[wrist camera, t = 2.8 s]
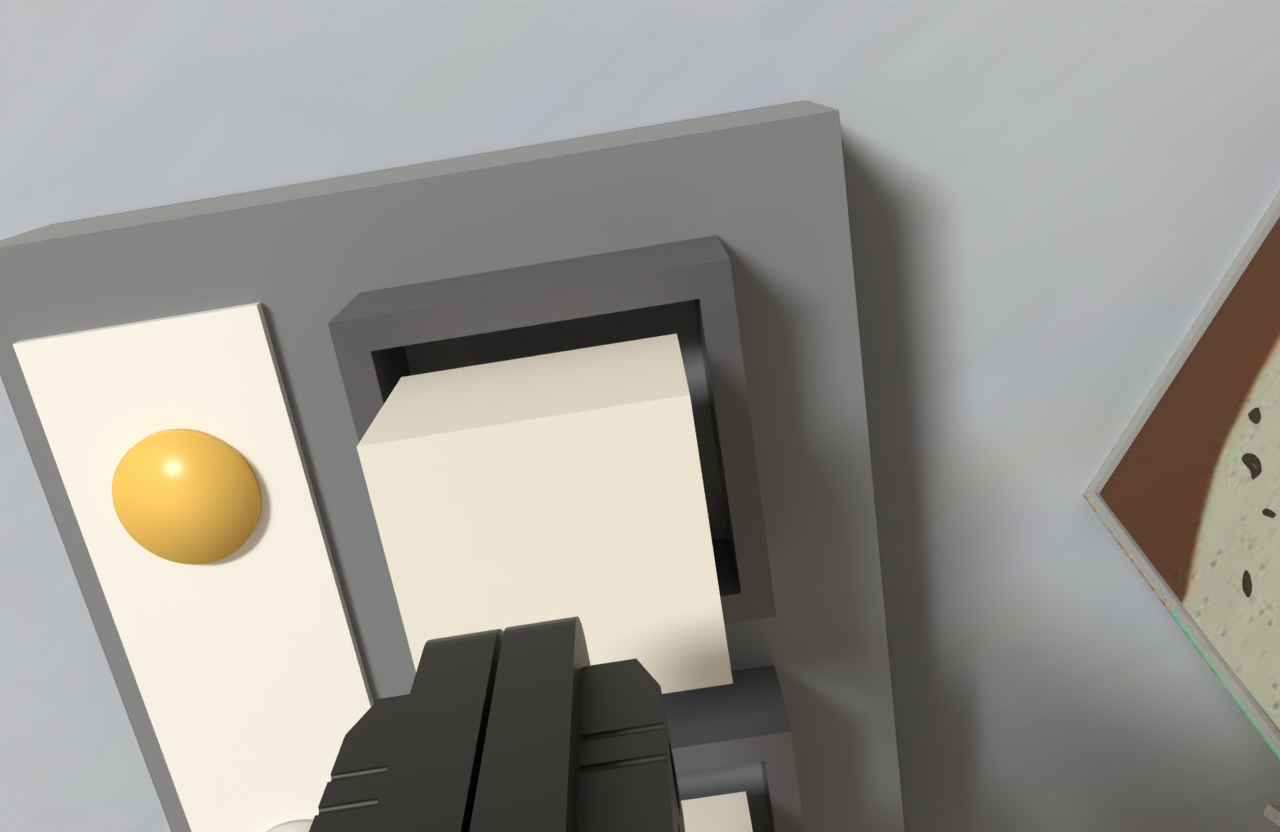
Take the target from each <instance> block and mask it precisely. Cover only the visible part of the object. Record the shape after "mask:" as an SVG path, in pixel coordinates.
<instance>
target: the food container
mask: <svg viewBox="0 0 1280 832" xmlns="http://www.w3.org/2000/svg"><path fill="white" fill-rule="evenodd" d="M1083 496H1084V497H1085V498H1086V500H1087V501H1088V503H1089V504H1090V505H1091V507H1092V508H1093V509H1094V511H1095V512H1096V513H1097V515H1098V516H1099V517H1100V519H1101V520H1102V522H1103V523H1104V524H1105V526H1106V527H1107V528H1108V530H1109V531H1110V532H1111V534H1112V535H1113V536H1114V538H1115V539H1116V541H1117V542H1118V543H1119V545H1120V546H1121V547H1122V549H1123V550H1124V551H1125V553H1126V554H1127V555H1128V557H1129V558H1130V559H1131V561H1132V562H1133V564H1134V565H1135V566H1136V568H1137V569H1138V570H1139V572H1140V573H1141V574H1142V576H1143V577H1144V578H1145V580H1146V581H1147V583H1148V584H1149V585H1150V587H1151V588H1152V589H1153V591H1154V592H1155V593H1156V595H1157V596H1158V597H1159V599H1160V600H1161V602H1162V603H1163V604H1164V606H1165V607H1166V608H1167V610H1168V611H1169V612H1170V614H1171V615H1172V616H1173V618H1174V619H1175V621H1176V622H1177V623H1178V625H1179V626H1180V627H1181V629H1182V630H1183V631H1184V633H1185V634H1186V635H1187V637H1188V638H1189V640H1190V641H1191V642H1192V644H1193V645H1194V646H1195V648H1196V649H1197V650H1198V652H1199V653H1200V654H1201V656H1202V657H1203V659H1204V660H1205V661H1206V663H1207V664H1208V665H1209V667H1210V668H1211V669H1212V671H1213V672H1214V673H1215V675H1216V676H1217V678H1218V679H1219V680H1220V682H1221V683H1222V684H1223V686H1224V687H1225V688H1226V690H1227V691H1228V692H1229V694H1230V695H1231V696H1232V698H1233V699H1234V701H1235V702H1236V703H1237V705H1238V706H1239V707H1240V709H1241V710H1242V711H1243V713H1244V714H1245V715H1246V717H1247V718H1248V720H1249V721H1250V722H1251V724H1252V725H1253V726H1254V728H1255V729H1256V730H1257V732H1258V733H1259V734H1260V736H1261V737H1262V739H1263V740H1264V741H1265V743H1266V744H1267V745H1268V747H1269V748H1270V749H1271V751H1272V752H1273V753H1274V755H1275V756H1276V758H1277V759H1278V760H1279V762H1280V192H1279V193H1278V195H1277V196H1276V198H1275V199H1274V201H1273V202H1272V204H1271V205H1270V207H1269V209H1268V210H1267V212H1266V213H1265V215H1264V216H1263V218H1262V219H1261V221H1260V222H1259V224H1258V226H1257V227H1256V229H1255V230H1254V232H1253V233H1252V235H1251V236H1250V238H1249V239H1248V241H1247V243H1246V244H1245V246H1244V247H1243V249H1242V250H1241V252H1240V253H1239V255H1238V256H1237V258H1236V260H1235V261H1234V263H1233V264H1232V266H1231V267H1230V269H1229V270H1228V272H1227V273H1226V275H1225V277H1224V278H1223V280H1222V281H1221V283H1220V284H1219V286H1218V287H1217V289H1216V290H1215V292H1214V294H1213V295H1212V297H1211V298H1210V300H1209V301H1208V303H1207V304H1206V306H1205V307H1204V309H1203V311H1202V312H1201V314H1200V315H1199V317H1198V318H1197V320H1196V321H1195V323H1194V324H1193V326H1192V328H1191V329H1190V331H1189V332H1188V334H1187V335H1186V337H1185V338H1184V340H1183V341H1182V343H1181V345H1180V346H1179V348H1178V349H1177V351H1176V352H1175V354H1174V355H1173V357H1172V358H1171V360H1170V362H1169V363H1168V365H1167V366H1166V368H1165V369H1164V371H1163V372H1162V374H1161V376H1160V377H1159V379H1158V380H1157V382H1156V383H1155V385H1154V386H1153V388H1152V389H1151V391H1150V393H1149V394H1148V396H1147V397H1146V399H1145V400H1144V402H1143V403H1142V405H1141V406H1140V408H1139V410H1138V411H1137V413H1136V414H1135V416H1134V417H1133V419H1132V420H1131V422H1130V423H1129V425H1128V427H1127V428H1126V430H1125V431H1124V433H1123V434H1122V436H1121V437H1120V439H1119V440H1118V442H1117V444H1116V445H1115V447H1114V448H1113V450H1112V451H1111V453H1110V454H1109V456H1108V457H1107V459H1106V461H1105V462H1104V464H1103V465H1102V467H1101V468H1100V470H1099V471H1098V473H1097V474H1096V476H1095V478H1094V479H1093V481H1092V482H1091V484H1090V485H1089V487H1088V488H1087V490H1086V491H1085V493H1084V495H1083ZM1263 815H1264V816H1265V817H1267V818H1268V819H1269V820H1270V821H1272V822H1273V823H1274V824H1276V825H1277V826H1278V827H1280V808H1279V807H1276V806H1273V805H1270V804H1267V807H1266V809H1265V811H1264V813H1263Z"/></svg>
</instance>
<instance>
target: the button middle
mask: <svg viewBox="0 0 1280 832" xmlns="http://www.w3.org/2000/svg"><path fill="white" fill-rule="evenodd" d="M681 804H682V810H683V816H684V826H685V832H753V830H752V824H751V818H750V813H749V807H748V801H747V796H746V791H745V792H738V793H731V794H724V795H717V796H710V797H703V798H696V799H689V800H683V801H681Z"/></svg>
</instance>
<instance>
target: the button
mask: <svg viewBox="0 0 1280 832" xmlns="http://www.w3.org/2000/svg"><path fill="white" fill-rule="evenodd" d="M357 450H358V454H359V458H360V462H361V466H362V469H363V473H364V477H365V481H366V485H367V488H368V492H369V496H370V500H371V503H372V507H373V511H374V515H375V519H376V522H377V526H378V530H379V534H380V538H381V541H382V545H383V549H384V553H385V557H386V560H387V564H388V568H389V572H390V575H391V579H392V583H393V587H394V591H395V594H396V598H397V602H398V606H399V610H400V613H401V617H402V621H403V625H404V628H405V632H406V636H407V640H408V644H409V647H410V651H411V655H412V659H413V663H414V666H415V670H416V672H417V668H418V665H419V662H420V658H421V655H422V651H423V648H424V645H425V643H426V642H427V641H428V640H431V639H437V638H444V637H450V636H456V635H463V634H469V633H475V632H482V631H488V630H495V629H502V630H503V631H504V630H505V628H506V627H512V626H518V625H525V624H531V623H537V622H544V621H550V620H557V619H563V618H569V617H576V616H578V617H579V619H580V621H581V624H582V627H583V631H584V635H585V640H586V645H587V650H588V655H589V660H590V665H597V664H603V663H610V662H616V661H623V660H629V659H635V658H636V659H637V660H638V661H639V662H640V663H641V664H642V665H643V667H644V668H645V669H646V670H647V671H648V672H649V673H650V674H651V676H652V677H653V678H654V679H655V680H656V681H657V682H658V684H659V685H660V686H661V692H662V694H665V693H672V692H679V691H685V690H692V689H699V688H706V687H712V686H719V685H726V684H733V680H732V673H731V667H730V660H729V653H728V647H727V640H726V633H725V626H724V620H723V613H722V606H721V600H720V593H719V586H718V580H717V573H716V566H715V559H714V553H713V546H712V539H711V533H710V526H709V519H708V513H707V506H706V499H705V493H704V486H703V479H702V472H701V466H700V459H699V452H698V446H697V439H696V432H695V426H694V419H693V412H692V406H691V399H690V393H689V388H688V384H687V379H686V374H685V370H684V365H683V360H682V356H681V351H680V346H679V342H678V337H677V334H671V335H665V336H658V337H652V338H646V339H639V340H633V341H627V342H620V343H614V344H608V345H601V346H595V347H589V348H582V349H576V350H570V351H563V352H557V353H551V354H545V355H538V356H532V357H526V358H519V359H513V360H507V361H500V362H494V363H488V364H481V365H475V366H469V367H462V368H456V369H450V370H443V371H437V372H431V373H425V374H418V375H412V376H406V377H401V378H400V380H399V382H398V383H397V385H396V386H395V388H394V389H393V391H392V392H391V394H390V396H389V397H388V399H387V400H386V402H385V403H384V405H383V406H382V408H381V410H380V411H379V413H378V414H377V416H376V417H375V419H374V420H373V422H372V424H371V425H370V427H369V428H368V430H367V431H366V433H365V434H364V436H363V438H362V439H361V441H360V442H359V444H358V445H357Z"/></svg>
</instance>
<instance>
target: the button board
mask: <svg viewBox="0 0 1280 832" xmlns="http://www.w3.org/2000/svg"><path fill="white" fill-rule="evenodd" d="M671 334H677V337H678V342H679V346H680V351H681V356H682V360H683V365H684V370H685V374H686V379H687V384H688V388H689V393H690V399H691V406H692V412H693V419H694V426H695V432H696V439H697V446H698V452H699V459H700V466H701V472H702V479H703V486H704V493H705V499H706V506H707V513H708V519H709V526H710V533H711V539H712V546H713V553H714V559H715V566H716V573H717V580H718V586H719V593H720V600H721V606H722V613H723V620H724V626H725V633H726V640H727V647H728V653H729V660H730V667H731V673H732V680H733V684H726V685H719V686H712V687H706V688H699V689H692V690H685V691H679V692H672V693H665V694H662V697H663V703H664V708H665V714H666V720H667V725H668V731H669V737H670V742H671V748H672V753H673V759H674V765H675V770H676V776H677V782H678V787H679V793H680V798H681V801H683V800H689V799H696V798H703V797H710V796H717V795H724V794H731V793H738V792H745V791H746V796H747V801H748V807H749V813H750V818H751V824H752V830H753V832H905V828H904V817H903V806H902V795H901V784H900V773H899V762H898V751H897V740H896V730H895V719H894V708H893V697H892V686H891V675H890V664H889V653H888V642H887V631H886V620H885V609H884V598H883V588H882V577H881V566H880V555H879V544H878V533H877V522H876V511H875V500H874V489H873V478H872V467H871V456H870V446H869V435H868V424H867V413H866V402H865V391H864V380H863V369H862V358H861V347H860V336H859V325H858V314H857V304H856V293H855V282H854V271H853V260H852V249H851V238H850V227H849V216H848V205H847V194H846V183H845V172H844V162H843V151H842V140H841V129H840V118H839V110H837V109H833V108H830V107H826V106H823V105H820V104H816V103H813V102H809V101H806V100H805V101H799V102H793V103H787V104H781V105H775V106H769V107H763V108H757V109H751V110H745V111H739V112H732V113H726V114H720V115H714V116H708V117H702V118H696V119H690V120H684V121H678V122H672V123H666V124H659V125H653V126H647V127H641V128H635V129H629V130H623V131H617V132H611V133H605V134H599V135H593V136H587V137H580V138H574V139H568V140H562V141H556V142H550V143H544V144H538V145H532V146H526V147H520V148H514V149H508V150H501V151H495V152H489V153H483V154H477V155H471V156H465V157H459V158H453V159H447V160H441V161H435V162H428V163H422V164H416V165H410V166H404V167H398V168H392V169H386V170H380V171H374V172H368V173H362V174H356V175H349V176H343V177H337V178H331V179H325V180H319V181H313V182H307V183H301V184H295V185H289V186H283V187H277V188H270V189H264V190H258V191H252V192H246V193H240V194H234V195H228V196H222V197H216V198H210V199H204V200H198V201H191V202H185V203H179V204H173V205H167V206H161V207H155V208H149V209H143V210H137V211H131V212H125V213H118V214H112V215H106V216H100V217H94V218H88V219H82V220H76V221H70V222H64V223H58V224H52V225H48V226H45V227H42V228H39V229H36V230H32V231H29V232H26V233H23V234H20V235H17V236H14V237H10V238H7V239H4V240H1V241H0V376H1V379H2V381H3V384H4V387H5V389H6V392H7V395H8V397H9V400H10V403H11V405H12V408H13V411H14V413H15V416H16V419H17V421H18V424H19V427H20V429H21V432H22V435H23V437H24V440H25V443H26V445H27V448H28V451H29V453H30V456H31V459H32V461H33V464H34V467H35V469H36V472H37V475H38V477H39V480H40V483H41V485H42V488H43V491H44V493H45V496H46V499H47V501H48V504H49V507H50V509H51V512H52V515H53V517H54V520H55V523H56V525H57V528H58V531H59V533H60V536H61V539H62V541H63V544H64V547H65V549H66V552H67V555H68V557H69V560H70V563H71V565H72V568H73V571H74V573H75V576H76V579H77V581H78V584H79V587H80V589H81V592H82V595H83V597H84V600H85V603H86V605H87V608H88V611H89V613H90V616H91V619H92V621H93V624H94V627H95V629H96V632H97V635H98V637H99V640H100V643H101V645H102V648H103V651H104V653H105V656H106V659H107V661H108V664H109V667H110V669H111V672H112V675H113V677H114V680H115V683H116V685H117V688H118V691H119V693H120V696H121V699H122V701H123V704H124V707H125V709H126V712H127V715H128V717H129V720H130V723H131V725H132V728H133V731H134V733H135V736H136V739H137V741H138V744H139V747H140V749H141V752H142V755H143V757H144V760H145V763H146V765H147V768H148V771H149V773H150V776H151V779H152V781H153V784H154V787H155V789H156V792H157V795H158V797H159V800H160V803H161V805H162V808H163V811H164V813H165V816H166V819H167V821H168V824H169V827H170V829H171V832H309V830H310V827H311V825H312V822H313V819H314V817H315V815H319V809H318V806H319V803H320V801H321V798H322V795H323V793H324V790H325V787H326V785H327V782H330V781H331V771H332V769H333V766H334V763H335V761H336V758H337V755H338V753H339V750H340V747H341V745H342V742H343V739H344V737H345V735H346V734H347V733H348V731H349V730H350V729H351V728H352V727H353V726H354V725H355V724H356V723H357V722H358V721H359V720H360V718H361V717H362V716H363V715H364V714H365V713H366V712H367V711H368V710H369V709H370V708H371V707H372V705H373V704H374V703H375V702H376V701H377V700H378V699H381V698H387V697H394V696H400V695H407V694H410V692H411V688H412V685H413V682H414V678H415V675H416V670H415V666H414V663H413V659H412V655H411V651H410V647H409V644H408V640H407V636H406V632H405V628H404V625H403V621H402V617H401V613H400V610H399V606H398V602H397V598H396V594H395V591H394V587H393V583H392V579H391V575H390V572H389V568H388V564H387V560H386V557H385V553H384V549H383V545H382V541H381V538H380V534H379V530H378V526H377V522H376V519H375V515H374V511H373V507H372V503H371V500H370V496H369V492H368V488H367V485H366V481H365V477H364V473H363V469H362V466H361V462H360V458H359V454H358V450H357V445H358V444H359V442H360V441H361V439H362V438H363V436H364V434H365V433H366V431H367V430H368V428H369V427H370V425H371V424H372V422H373V420H374V419H375V417H376V416H377V414H378V413H379V411H380V410H381V408H382V406H383V405H384V403H385V402H386V400H387V399H388V397H389V396H390V394H391V392H392V391H393V389H394V388H395V386H396V385H397V383H398V382H399V380H400V378H401V377H406V376H412V375H418V374H425V373H431V372H437V371H443V370H450V369H456V368H462V367H469V366H475V365H481V364H488V363H494V362H500V361H507V360H513V359H519V358H526V357H532V356H538V355H545V354H551V353H557V352H563V351H570V350H576V349H582V348H589V347H595V346H601V345H608V344H614V343H620V342H627V341H633V340H639V339H646V338H652V337H658V336H665V335H671Z"/></svg>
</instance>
